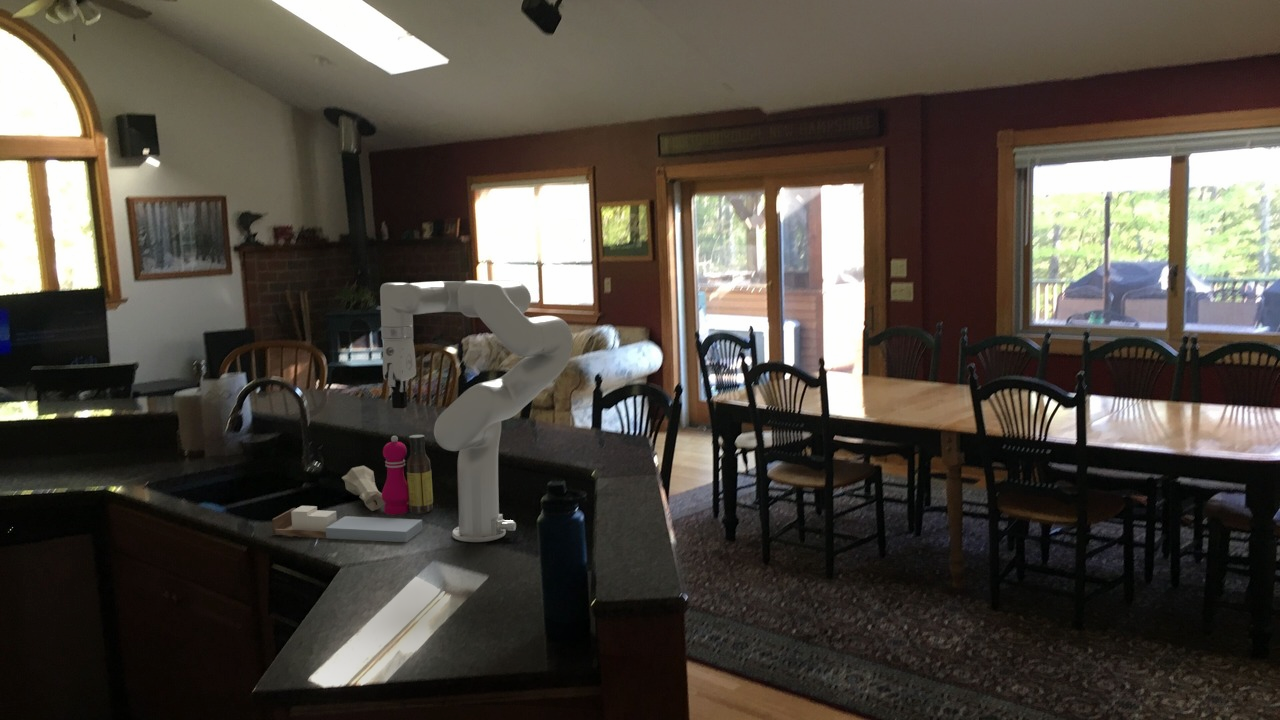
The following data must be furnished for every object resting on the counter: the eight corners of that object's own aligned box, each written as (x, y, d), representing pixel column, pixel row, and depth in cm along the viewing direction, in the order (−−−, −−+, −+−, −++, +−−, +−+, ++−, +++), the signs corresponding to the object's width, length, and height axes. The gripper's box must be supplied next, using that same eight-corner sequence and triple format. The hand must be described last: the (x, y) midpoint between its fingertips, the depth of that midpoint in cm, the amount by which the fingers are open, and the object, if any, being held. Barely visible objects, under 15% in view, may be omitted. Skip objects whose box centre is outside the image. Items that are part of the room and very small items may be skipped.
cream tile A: (337, 527, 240) (336, 511, 239) (327, 533, 235) (326, 516, 234) (317, 526, 241) (317, 510, 240) (307, 532, 236) (307, 515, 235)
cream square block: (316, 506, 240) (301, 505, 240) (306, 511, 235) (291, 511, 236) (317, 526, 240) (302, 525, 241) (307, 532, 236) (292, 531, 236)
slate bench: (422, 529, 239) (422, 519, 238) (406, 542, 229) (406, 531, 229) (345, 526, 242) (345, 516, 242) (326, 538, 232) (325, 527, 232)
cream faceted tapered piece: (376, 486, 278) (397, 512, 256) (347, 497, 274) (366, 524, 252) (367, 458, 275) (387, 481, 253) (337, 469, 272) (355, 494, 250)
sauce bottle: (431, 506, 260) (429, 432, 257) (434, 512, 254) (432, 437, 251) (406, 508, 257) (404, 434, 255) (409, 515, 252) (407, 438, 249)
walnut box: (345, 526, 242) (344, 510, 241) (326, 538, 232) (325, 521, 232) (294, 523, 244) (293, 507, 244) (272, 535, 234) (272, 519, 234)
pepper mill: (401, 516, 250) (398, 439, 248) (376, 513, 253) (374, 437, 250) (416, 509, 257) (414, 433, 255) (392, 506, 259) (389, 432, 257)
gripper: (399, 336, 231) (402, 413, 233) (423, 330, 246) (425, 403, 248) (369, 336, 232) (372, 412, 235) (395, 330, 247) (397, 402, 249)
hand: (399, 407), depth 241 cm, fingers closed
